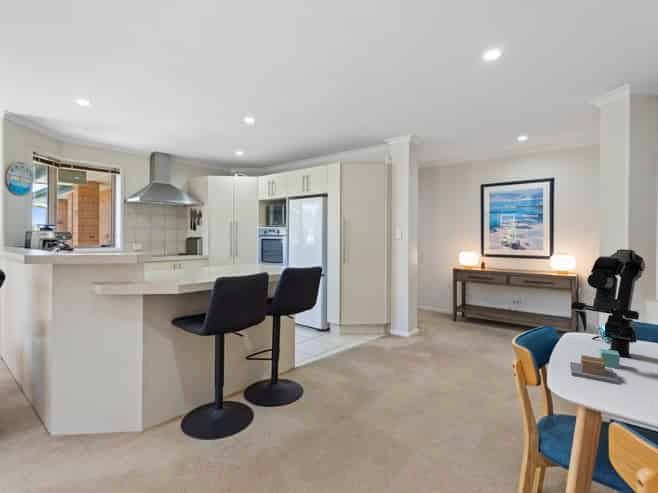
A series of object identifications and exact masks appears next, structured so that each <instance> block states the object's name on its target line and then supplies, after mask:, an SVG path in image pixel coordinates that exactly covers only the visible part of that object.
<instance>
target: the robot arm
mask: <svg viewBox="0 0 658 493" xmlns="http://www.w3.org/2000/svg"><path fill="white" fill-rule="evenodd" d="M645 270H646V264H645V260H644V258H643V257H642V256H640V255H638V254H637V253H636V252H635V250H633V249H617V250H616V252H614V253H613V254H611V255H608V256H605V255H603V256H598V258H597V259H595V261H594V264H593V266H592V268H591V271H590V274H589V275H588V277H587V279H586V280H587V283H588V285H589V286H590V287H591V288H593V289H596V290H595V297H594V299H593V305H588V304H587V303H586V302H585V303H584V302H579V301H573V302H571V305H570V306H571V307H570V309H571V310H575V313H578V315H579V316H580V319H581V322H582V326H583V327H582V328H583V331H584V332H587V327H588V326H587V324H588V323H587V322H588V319H587V318H588V317H587V316H588V315H587V314H588V313H587V311H592V312H597V313H603V314H609V315H608V317H607V321H606V322H605V324H604V327H605V330H604V331H605V333H604V334H605V337H608V338H611V341H610V348H607V350H613V351H618V353H619V355H620V357H623V358H630V359H631V358H632V357H633V356H632V355H631V353H630V346H631V345H630V344H632V343H637V340H638V338H637V332H636V331H635V327H634V323H633V322H634V320H635V321H636V320H637V321H638V320H639V318H640V317H639V316H640V313H639V312H638V311H637V310H631V308H632V302H633V298H634V290H635V284H636V282H637V281H638V280H639V279H640V278H641V277H642V276H643V272H645ZM617 276H619V277H620V281H619V279H618V278H619V277H617ZM618 281H619V285H618ZM617 291H618V292H617ZM608 338H607V339H608ZM632 359H633V358H632Z"/></svg>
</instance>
